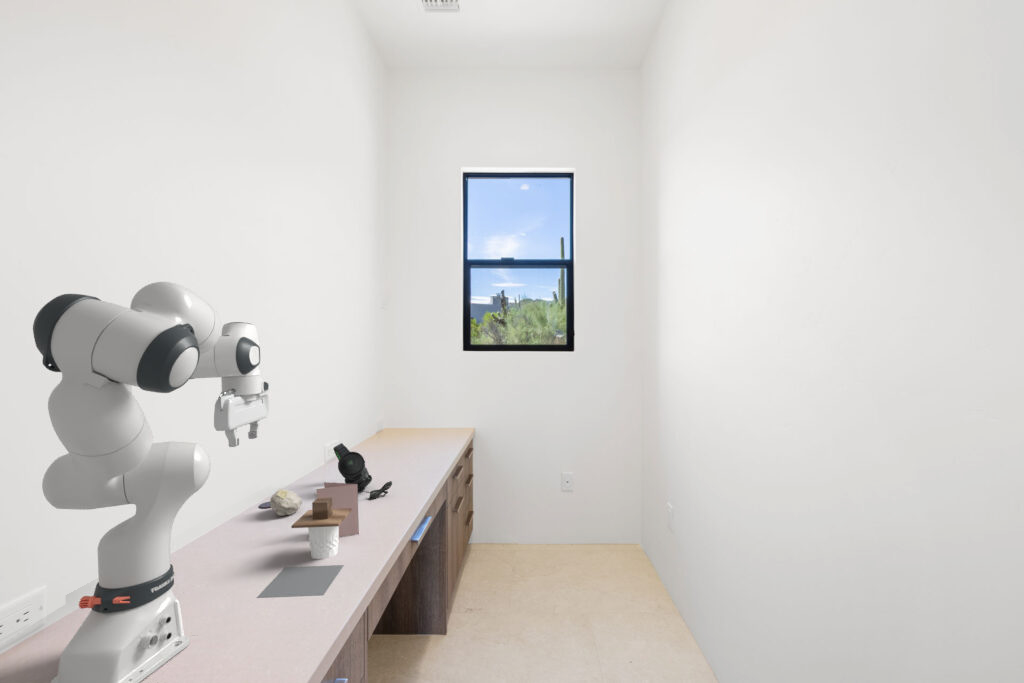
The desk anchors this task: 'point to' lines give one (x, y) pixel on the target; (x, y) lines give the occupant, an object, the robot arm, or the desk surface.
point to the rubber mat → (301, 581)
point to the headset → (356, 470)
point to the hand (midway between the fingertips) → (243, 442)
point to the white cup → (323, 541)
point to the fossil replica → (285, 502)
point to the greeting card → (343, 504)
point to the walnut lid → (322, 515)
